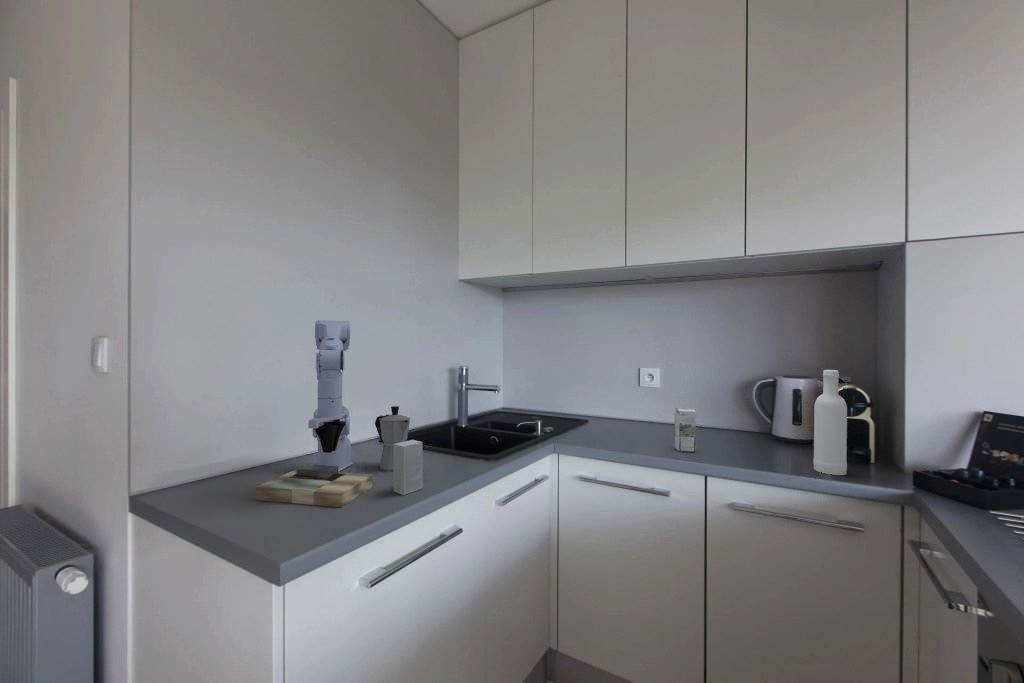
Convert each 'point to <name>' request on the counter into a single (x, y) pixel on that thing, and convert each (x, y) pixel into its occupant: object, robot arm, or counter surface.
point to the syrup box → (685, 430)
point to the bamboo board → (315, 489)
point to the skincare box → (408, 466)
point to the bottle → (830, 428)
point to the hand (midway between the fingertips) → (329, 451)
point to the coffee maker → (391, 435)
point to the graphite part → (317, 471)
